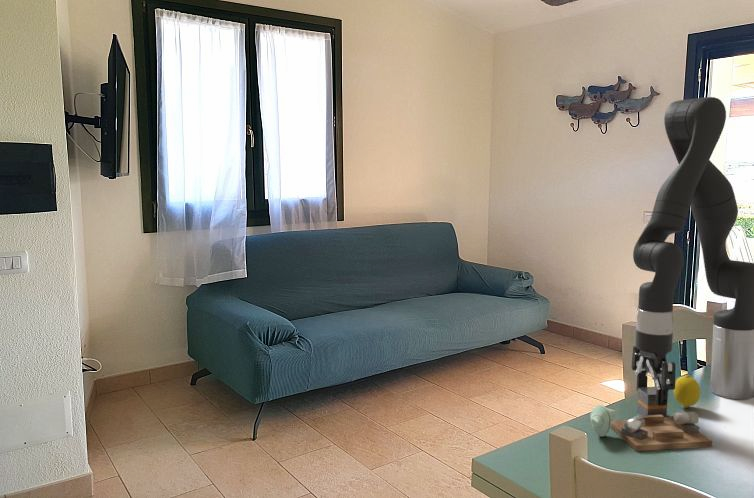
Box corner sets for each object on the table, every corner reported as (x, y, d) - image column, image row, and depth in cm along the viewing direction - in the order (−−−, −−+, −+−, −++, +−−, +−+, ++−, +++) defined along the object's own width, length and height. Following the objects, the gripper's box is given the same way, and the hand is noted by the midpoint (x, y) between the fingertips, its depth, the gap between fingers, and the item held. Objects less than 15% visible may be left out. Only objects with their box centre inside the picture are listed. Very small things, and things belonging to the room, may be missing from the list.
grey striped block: (656, 410, 138) (656, 386, 137) (666, 419, 133) (667, 393, 132) (636, 412, 137) (637, 387, 136) (647, 420, 133) (647, 394, 132)
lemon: (702, 413, 135) (704, 379, 134) (676, 411, 137) (678, 378, 135) (694, 403, 141) (696, 371, 140) (670, 402, 142) (671, 370, 141)
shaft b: (629, 428, 126) (629, 412, 125) (649, 435, 122) (650, 419, 122) (619, 434, 123) (619, 418, 123) (639, 441, 120) (640, 424, 120)
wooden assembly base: (678, 421, 131) (679, 401, 131) (712, 446, 119) (713, 424, 119) (608, 425, 130) (609, 405, 130) (635, 451, 119) (636, 428, 118)
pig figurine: (600, 445, 122) (600, 414, 121) (581, 439, 125) (582, 408, 124) (618, 433, 127) (619, 403, 126) (600, 427, 130) (601, 398, 129)
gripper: (689, 337, 125) (685, 409, 127) (653, 320, 139) (650, 386, 141) (655, 338, 125) (651, 411, 127) (623, 321, 139) (620, 387, 141)
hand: (651, 398), depth 134 cm, fingers open, 8 cm apart
